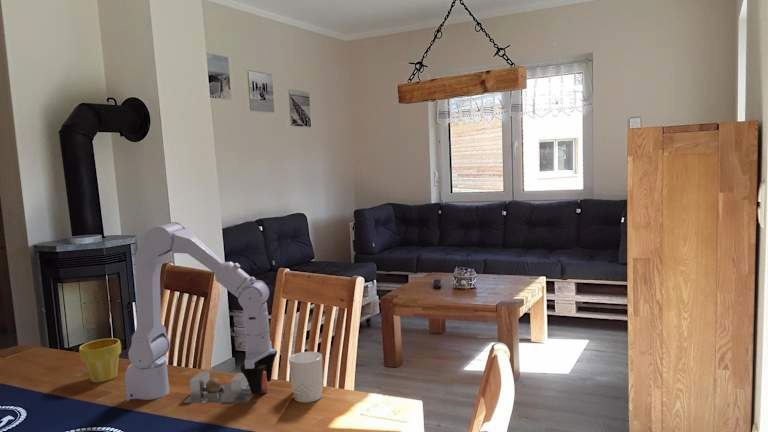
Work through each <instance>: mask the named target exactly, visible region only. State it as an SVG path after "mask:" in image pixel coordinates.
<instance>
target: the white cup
mask: <svg viewBox="0 0 768 432" xmlns="http://www.w3.org/2000/svg"><path fill="white" fill-rule="evenodd" d="M288 363H289V372H290V380H291V387H292V390H293V391H292V393H293V398H294V401H296V402H299V403H313V402H316V401H318V400H320V399H321V398H322V397H323V355H322V353H321V352H317V351H302V352H297V353H294V354H292V355H290V356H289V357H288Z"/></svg>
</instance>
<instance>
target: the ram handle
mask: <svg viewBox="0 0 768 432" xmlns="http://www.w3.org/2000/svg"><path fill="white" fill-rule="evenodd" d="M230 384H231V389H232V392H242V391H243V390H244V392H251V390H250V387H247V385H248V381H247V379H246V377H245V376H244V374H243V373H242V372H237V373H236V374H235V375H234V377H232V379H230ZM267 392H268V382H267V375H266V370H264V372H263V377H262V390H261V393H260V394H261V395H262V394H266V393H267ZM260 394H259V395H260Z"/></svg>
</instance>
